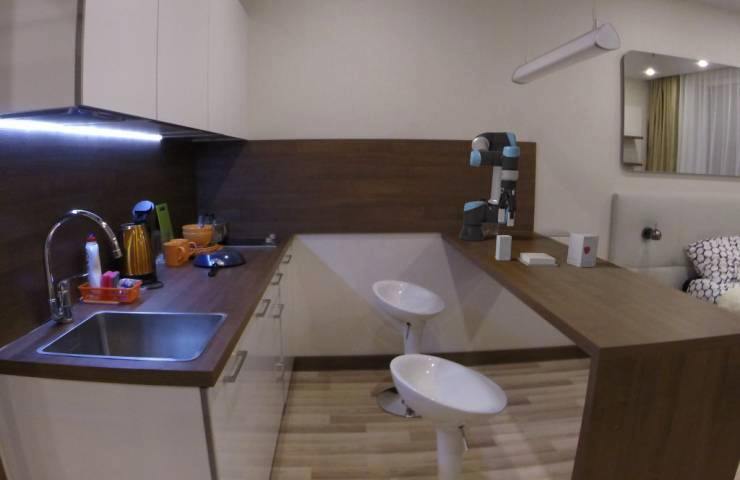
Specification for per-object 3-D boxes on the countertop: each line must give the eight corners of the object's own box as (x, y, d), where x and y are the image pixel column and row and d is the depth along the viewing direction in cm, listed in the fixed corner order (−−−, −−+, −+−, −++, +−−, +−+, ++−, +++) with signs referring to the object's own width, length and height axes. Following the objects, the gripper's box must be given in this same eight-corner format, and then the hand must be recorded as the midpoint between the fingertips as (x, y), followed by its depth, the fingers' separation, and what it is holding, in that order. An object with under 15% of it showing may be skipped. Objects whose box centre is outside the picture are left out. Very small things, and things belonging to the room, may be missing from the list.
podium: (517, 259, 210) (517, 252, 210) (544, 259, 211) (545, 252, 210) (527, 266, 197) (528, 258, 196) (557, 266, 197) (558, 259, 196)
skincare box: (506, 258, 211) (508, 234, 209) (510, 260, 206) (512, 236, 204) (494, 258, 210) (496, 234, 208) (498, 260, 206) (500, 236, 204)
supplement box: (579, 267, 196) (583, 236, 193) (566, 263, 204) (569, 232, 201) (595, 267, 198) (599, 235, 195) (581, 262, 207) (585, 232, 204)
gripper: (493, 178, 213) (490, 220, 217) (510, 180, 189) (506, 227, 192) (508, 178, 213) (504, 220, 217) (527, 180, 189) (522, 227, 193)
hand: (505, 223), depth 205 cm, fingers open, 13 cm apart
